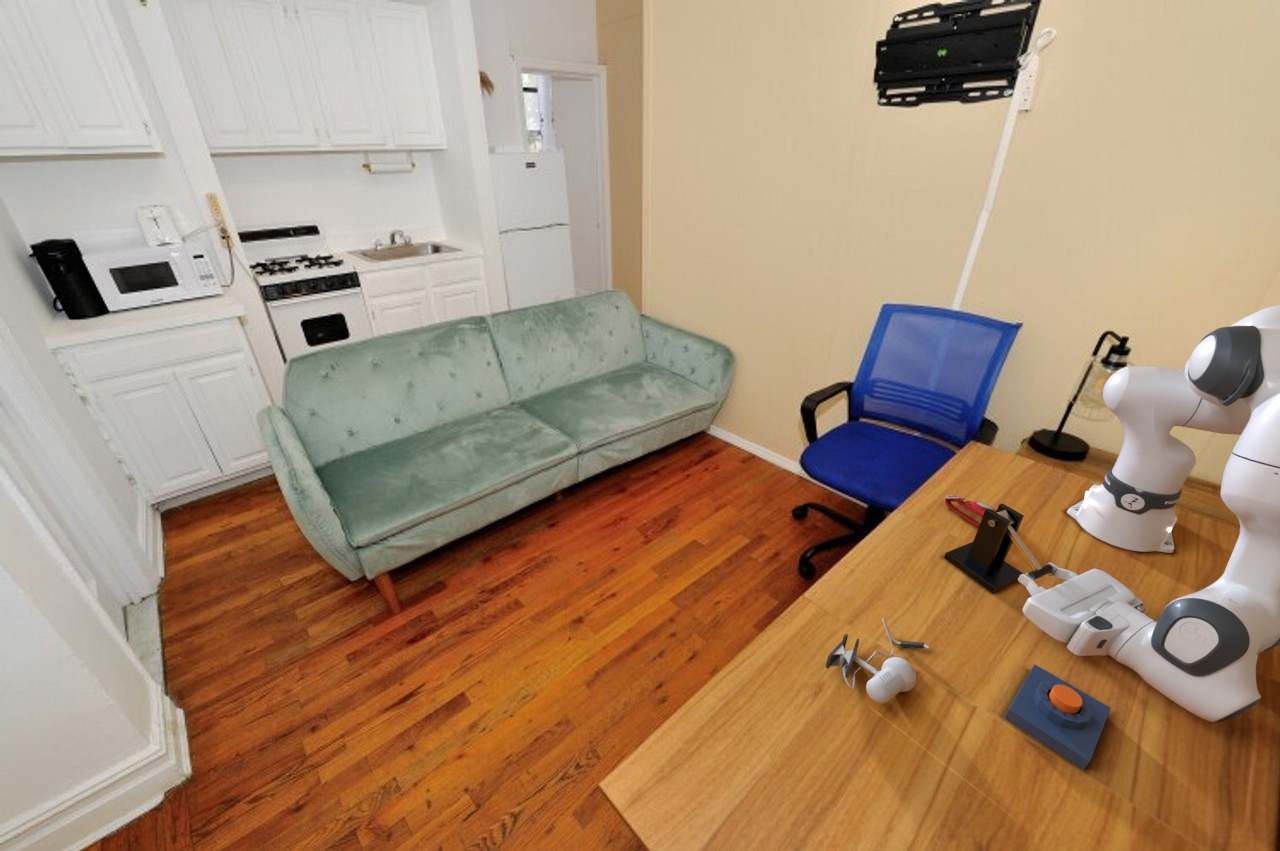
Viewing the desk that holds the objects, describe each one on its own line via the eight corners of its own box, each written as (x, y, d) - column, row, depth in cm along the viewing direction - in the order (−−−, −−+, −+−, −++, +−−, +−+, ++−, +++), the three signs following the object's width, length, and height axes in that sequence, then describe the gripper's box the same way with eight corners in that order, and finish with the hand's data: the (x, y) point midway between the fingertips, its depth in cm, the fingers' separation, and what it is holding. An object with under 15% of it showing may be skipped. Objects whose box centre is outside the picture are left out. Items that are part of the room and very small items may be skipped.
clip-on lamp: (871, 634, 96) (817, 670, 85) (879, 605, 94) (824, 639, 83) (936, 674, 87) (884, 720, 76) (945, 643, 85) (894, 686, 74)
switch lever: (1046, 573, 97) (1057, 569, 95) (1028, 582, 95) (1038, 578, 93) (1001, 512, 103) (1010, 507, 101) (983, 519, 101) (992, 514, 99)
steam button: (1052, 687, 79) (1056, 680, 78) (1081, 703, 76) (1085, 696, 76) (1045, 701, 77) (1049, 694, 76) (1074, 719, 74) (1079, 711, 74)
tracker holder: (993, 503, 124) (1015, 520, 115) (985, 518, 125) (1006, 536, 116) (944, 487, 125) (961, 503, 116) (936, 503, 127) (953, 520, 117)
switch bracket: (1022, 579, 103) (1048, 522, 96) (992, 593, 100) (1017, 535, 93) (972, 546, 112) (993, 492, 105) (943, 557, 109) (963, 502, 102)
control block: (1029, 672, 85) (1038, 656, 83) (1105, 716, 78) (1115, 700, 76) (1004, 717, 78) (1012, 701, 76) (1083, 770, 72) (1095, 754, 70)
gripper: (1160, 595, 87) (1074, 544, 98) (1086, 634, 80) (1003, 574, 92) (1142, 620, 90) (1061, 567, 101) (1069, 659, 84) (991, 598, 95)
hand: (1033, 570), depth 96 cm, fingers closed on switch lever, 5 cm apart
